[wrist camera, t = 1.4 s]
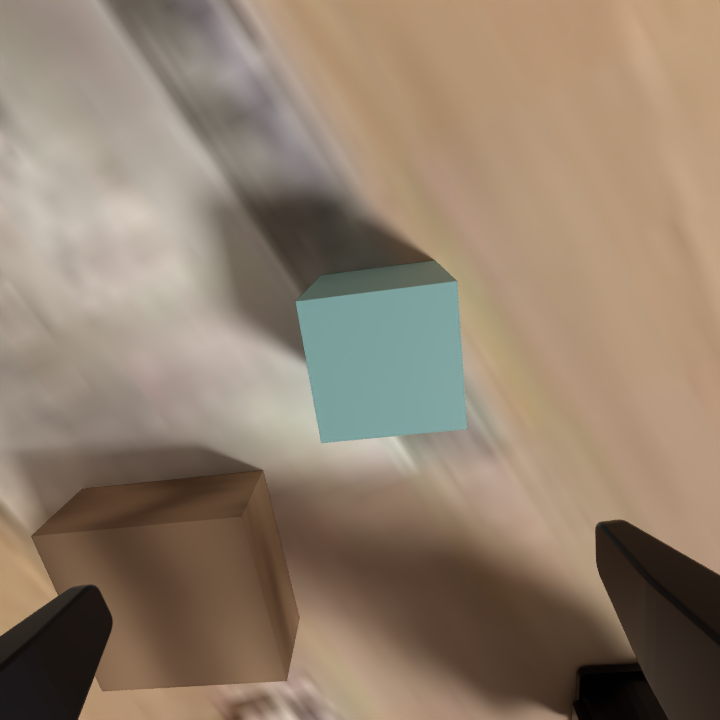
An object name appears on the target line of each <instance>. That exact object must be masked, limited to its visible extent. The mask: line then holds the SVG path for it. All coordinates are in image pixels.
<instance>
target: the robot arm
mask: <svg viewBox="0 0 720 720" xmlns="http://www.w3.org/2000/svg"><path fill="white" fill-rule="evenodd" d="M595 537H596V563H597V568H598V572H599V575H600V577H601V580H602V582H603V584H604V586H605V589H606V591H607V593H608V595H609V598H610V600H611V602H612V604H613V606H614V609H615V611H616V613H617V615H618V618H619V620H620V622H621V624H622V627H623V629H624V631H625V633H626V636H627V638H628V640H629V642H630V645H631V647H632V649H633V651H634V654H635V656H636V658H637V660H638V662H639V664H634V665H613V666H593V667H582V668H580V669H579V670H578V671H577V681H576V699H575V700H574V702H573V703H572V720H720V575H719V574H717V573H715V572H714V571H712V570H710V569H708V568H707V567H705V566H703V565H702V564H700V563H698V562H696V561H695V560H693V559H691V558H689V557H688V556H686V555H684V554H682V553H681V552H679V551H677V550H675V549H674V548H672V547H670V546H669V545H667V544H665V543H663V542H662V541H660V540H658V539H656V538H655V537H653V536H651V535H649V534H648V533H646V532H644V531H643V530H641V529H639V528H637V527H636V526H634V525H632V524H630V523H629V522H627V521H624V520H611V521H603V522H599V523H598V524H597V525H596V528H595ZM112 626H113V618H112V615H111V612H110V610H109V608H108V606H107V604H106V602H105V600H104V598H103V596H102V594H101V592H100V590H99V588H98V587H97V586H95V585H92V584H89V585H80V586H74V587H71V588H69V589H68V590H66V591H65V592H63V593H62V594H60V595H59V596H57V597H56V598H55V599H53V600H52V601H50V602H49V603H47V604H46V605H45V606H43V607H42V608H40V609H39V610H37V611H36V612H34V613H33V614H32V615H30V616H29V617H27V618H26V619H24V620H23V621H22V622H20V623H19V624H17V625H16V626H14V627H13V628H11V629H10V630H9V631H7V632H6V633H4V634H3V635H1V636H0V720H78V718H79V715H80V713H81V710H82V708H83V705H84V703H85V700H86V697H87V695H88V692H89V689H90V687H91V684H92V681H93V679H94V676H95V673H96V671H97V668H98V666H99V663H100V660H101V658H102V655H103V652H104V650H105V647H106V644H107V642H108V639H109V636H110V634H111V631H112Z"/></svg>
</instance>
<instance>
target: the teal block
mask: <svg viewBox="0 0 720 720" xmlns="http://www.w3.org/2000/svg"><path fill="white" fill-rule="evenodd" d="M296 307H297V313H298V318H299V324H300V329H301V335H302V340H303V346H304V351H305V357H306V362H307V368H308V373H309V379H310V384H311V390H312V395H313V401H314V406H315V412H316V417H317V423H318V428H319V434H320V439H321V443H328V442H338V441H348V440H359V439H369V438H379V437H390V436H400V435H410V434H421V433H431V432H441V431H452V430H462V429H467V422H466V407H465V392H464V377H463V361H462V346H461V331H460V316H459V301H458V285H457V280H455V279H454V278H453V277H452V276H451V275H450V274H449V273H448V272H447V271H446V270H445V269H444V268H443V267H442V266H441V265H439V264H438V263H437V262H436V261H435V260H434V261H427V262H419V263H411V264H404V265H396V266H388V267H381V268H373V269H365V270H358V271H350V272H342V273H335V274H327V275H321V276H320V277H319V278H318V279H317V280H316V281H315V282H314V283H313V284H312V285H311V286H310V287H309V288H308V289H307V290H306V291H305V292H304V293H303V294H302V295H301V296H300V297H299V298H298V299H297V300H296Z"/></svg>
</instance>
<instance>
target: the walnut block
mask: <svg viewBox="0 0 720 720" xmlns="http://www.w3.org/2000/svg"><path fill="white" fill-rule="evenodd" d="M31 537H32V540H33V542H34V544H35V546H36V548H37V550H38V553H39V555H40V557H41V559H42V561H43V563H44V566H45V568H46V570H47V572H48V574H49V577H50V579H51V581H52V583H53V585H54V587H55V590H56V592H57V594H58V596H59V595H60V594H62V593H63V592H65V591H66V590H68V589H69V588H71V587H74V586H80V585H89V584H92V585H95V586H97V587H98V588H99V590H100V592H101V594H102V596H103V598H104V600H105V602H106V604H107V606H108V608H109V610H110V612H111V615H112V618H113V626H112V631H111V634H110V636H109V639H108V642H107V644H106V647H105V650H104V652H103V655H102V658H101V660H100V663H99V666H98V668H97V671H96V673H95V677H96V679H97V681H98V683H99V686H100V688H101V690H102V691H117V690H135V689H153V688H170V687H188V686H205V685H223V684H241V683H258V682H276V681H287V677H288V672H289V667H290V662H291V658H292V653H293V648H294V643H295V638H296V633H297V628H298V624H299V619H300V617H299V613H298V609H297V605H296V601H295V597H294V593H293V589H292V585H291V581H290V577H289V573H288V569H287V565H286V561H285V557H284V553H283V549H282V545H281V541H280V537H279V532H278V528H277V524H276V520H275V516H274V512H273V508H272V504H271V500H270V496H269V492H268V488H267V484H266V480H265V476H264V472H263V470H261V471H251V472H242V473H232V474H222V475H213V476H203V477H193V478H184V479H174V480H164V481H155V482H145V483H135V484H126V485H116V486H106V487H97V488H87V489H82V490H81V491H80V492H78V493H77V494H76V495H75V496H74V497H73V498H72V499H71V500H70V501H69V502H68V503H67V504H65V505H64V506H63V507H62V508H61V509H60V510H59V511H58V512H57V513H56V514H55V515H54V516H52V517H51V518H50V519H49V520H48V521H47V522H46V523H45V524H44V525H43V526H42V527H41V528H39V529H38V530H37V531H36V532H35V533H34V534H33V535H32V536H31Z"/></svg>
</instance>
